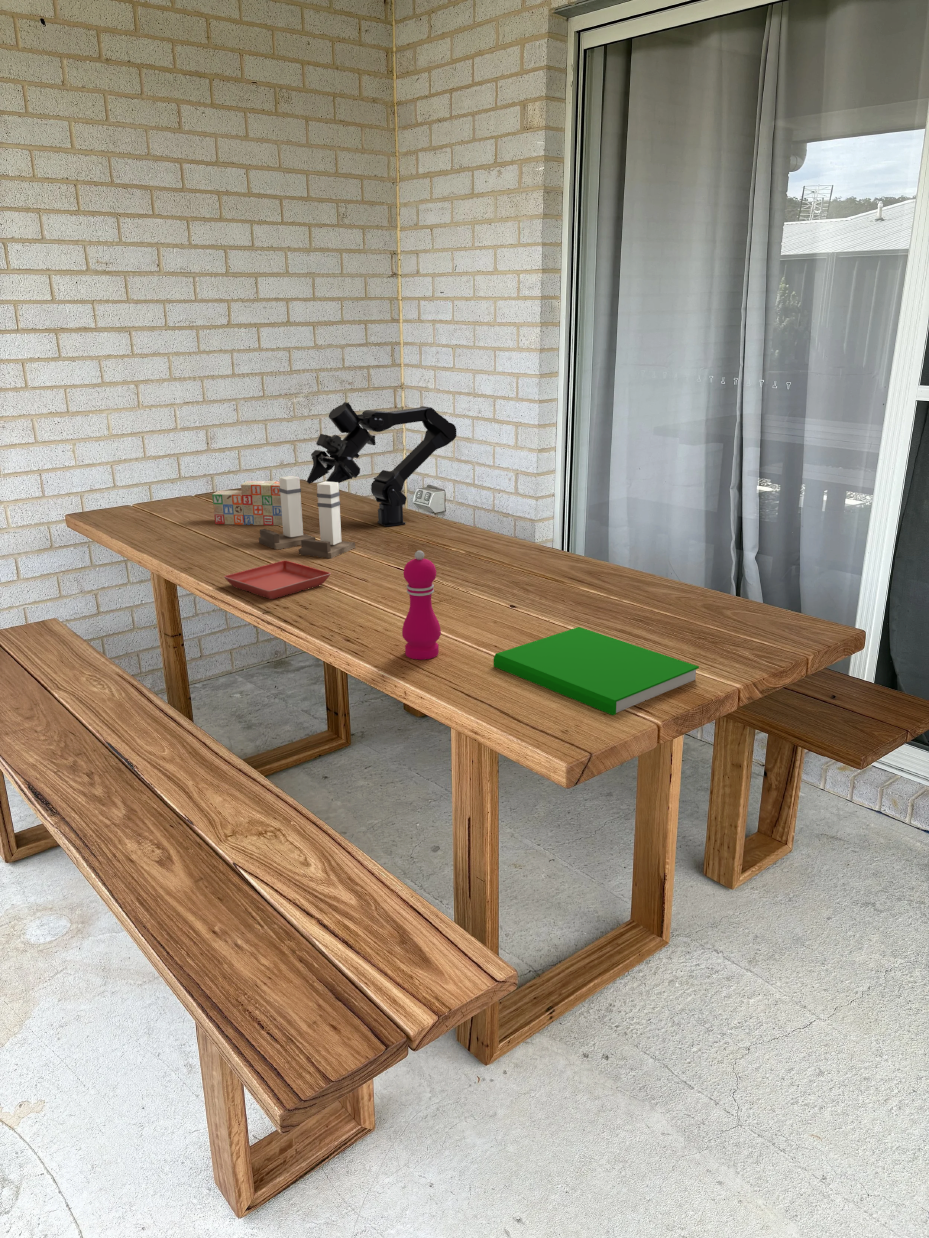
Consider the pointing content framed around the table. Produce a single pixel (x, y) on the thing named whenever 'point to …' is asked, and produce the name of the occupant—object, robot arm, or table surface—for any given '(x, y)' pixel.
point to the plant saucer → (278, 579)
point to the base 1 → (280, 539)
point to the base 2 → (324, 548)
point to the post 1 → (291, 506)
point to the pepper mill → (420, 610)
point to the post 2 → (329, 512)
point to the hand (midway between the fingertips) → (316, 485)
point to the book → (596, 669)
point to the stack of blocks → (249, 504)
